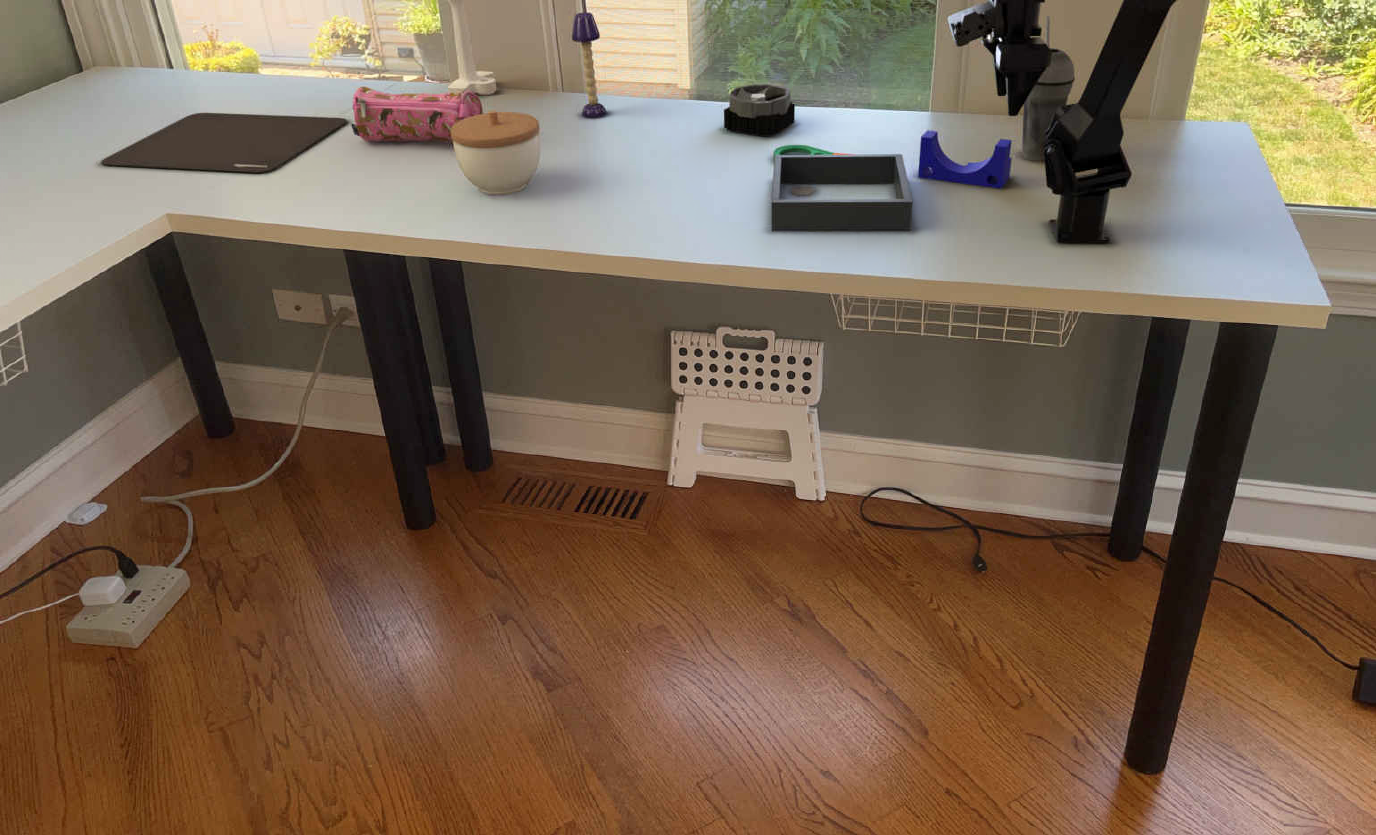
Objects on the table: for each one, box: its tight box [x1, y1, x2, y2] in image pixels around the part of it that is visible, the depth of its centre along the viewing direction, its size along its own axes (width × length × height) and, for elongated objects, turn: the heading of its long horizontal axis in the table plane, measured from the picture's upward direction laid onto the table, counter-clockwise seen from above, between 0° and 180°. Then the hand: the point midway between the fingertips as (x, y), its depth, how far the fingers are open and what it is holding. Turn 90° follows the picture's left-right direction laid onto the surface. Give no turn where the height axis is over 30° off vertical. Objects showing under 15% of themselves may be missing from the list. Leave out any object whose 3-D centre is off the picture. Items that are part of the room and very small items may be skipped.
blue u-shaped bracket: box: [917, 129, 1013, 190], centre depth 157 cm, size 12×4×6 cm, turn 62°
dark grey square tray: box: [770, 153, 913, 232], centre depth 150 cm, size 18×18×4 cm
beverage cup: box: [1021, 16, 1076, 162], centre depth 159 cm, size 7×7×20 cm
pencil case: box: [350, 86, 484, 144], centre depth 179 cm, size 21×9×9 cm, turn 74°
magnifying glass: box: [773, 144, 859, 157], centre depth 165 cm, size 15×6×2 cm, turn 66°
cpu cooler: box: [723, 83, 796, 137], centre depth 179 cm, size 10×6×10 cm
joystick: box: [446, 0, 497, 96], centre depth 199 cm, size 11×8×20 cm
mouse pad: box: [100, 112, 348, 174], centre depth 185 cm, size 32×27×1 cm
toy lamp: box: [571, 11, 607, 119], centre depth 186 cm, size 5×5×17 cm
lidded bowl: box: [451, 110, 541, 195], centre depth 160 cm, size 13×13×11 cm
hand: (1006, 105), depth 148 cm, fingers open, 9 cm apart
